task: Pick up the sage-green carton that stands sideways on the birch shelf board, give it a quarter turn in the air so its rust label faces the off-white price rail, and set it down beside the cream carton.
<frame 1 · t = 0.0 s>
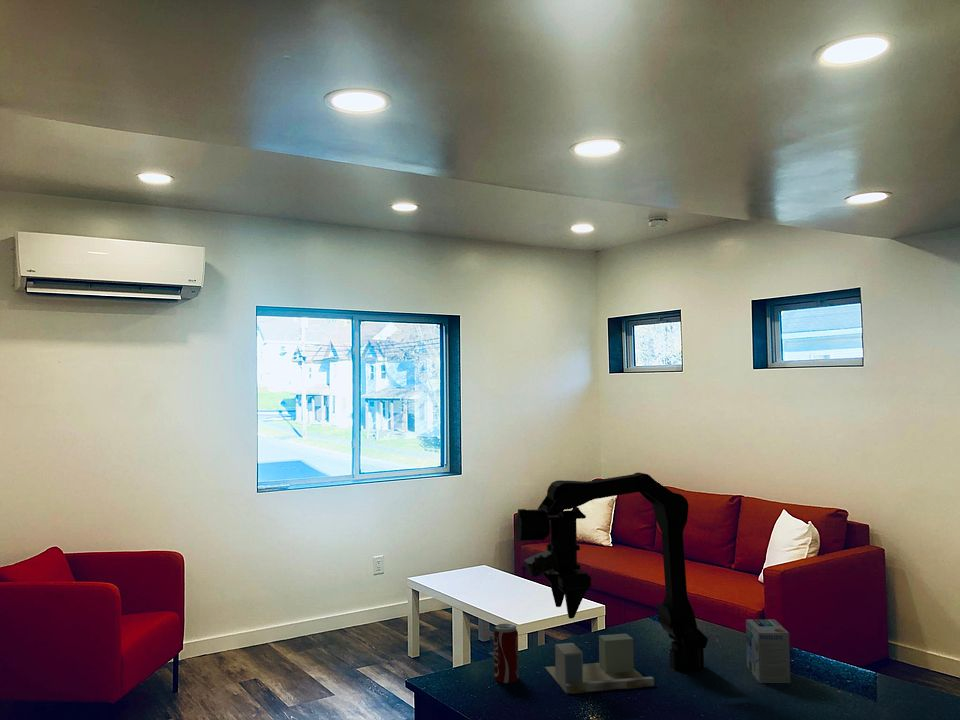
hand: (564, 612, 165), 15 cm above the table, tool pointing down, fingers open, 9 cm apart
soda can: (506, 684, 164), on the table
light bulb box: (768, 676, 167), on the table
shelf: (597, 680, 165), on the table
sage carton: (616, 669, 169), point 1 cm above the table, touching shelf
cream carton: (569, 681, 161), point 1 cm above the table, touching shelf
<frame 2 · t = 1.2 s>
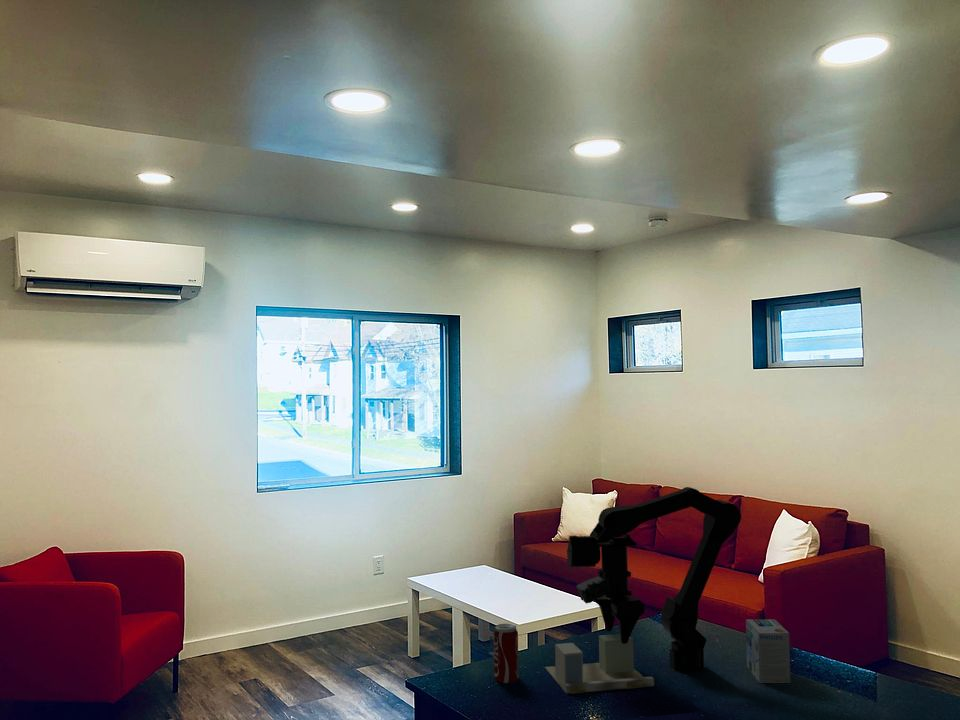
hand: (616, 637, 169), 8 cm above the table, tool pointing down, fingers open, 9 cm apart
nothing on the table moved.
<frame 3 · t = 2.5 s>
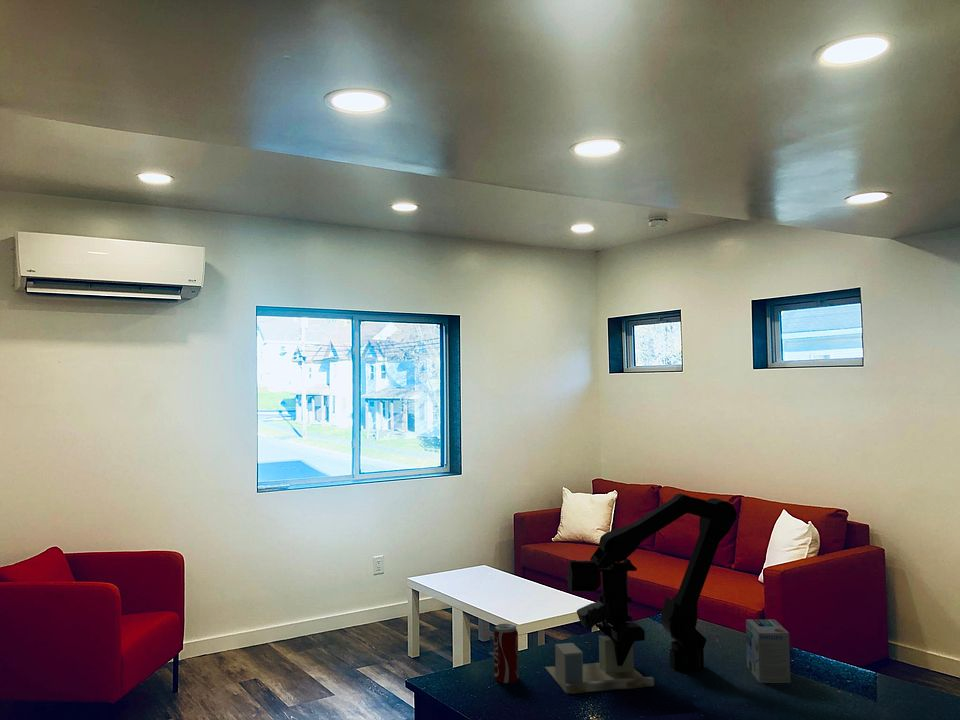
hand: (616, 662, 169), 3 cm above the table, tool pointing down, fingers closed on sage carton, 4 cm apart
sage carton: (616, 669, 169), point 1 cm above the table, touching gripper, shelf
everything else where it was.
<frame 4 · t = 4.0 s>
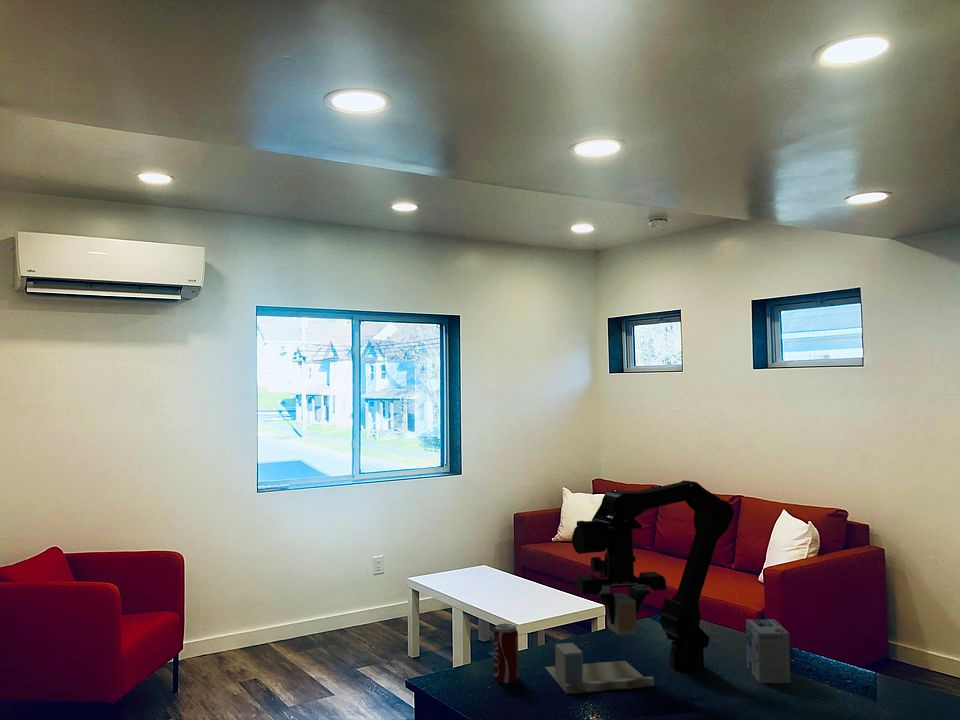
hand: (621, 623, 164), 12 cm above the table, tool pointing down, fingers closed on sage carton, 4 cm apart
sage carton: (621, 630, 164), point 11 cm above the table, touching gripper
everything else where it was.
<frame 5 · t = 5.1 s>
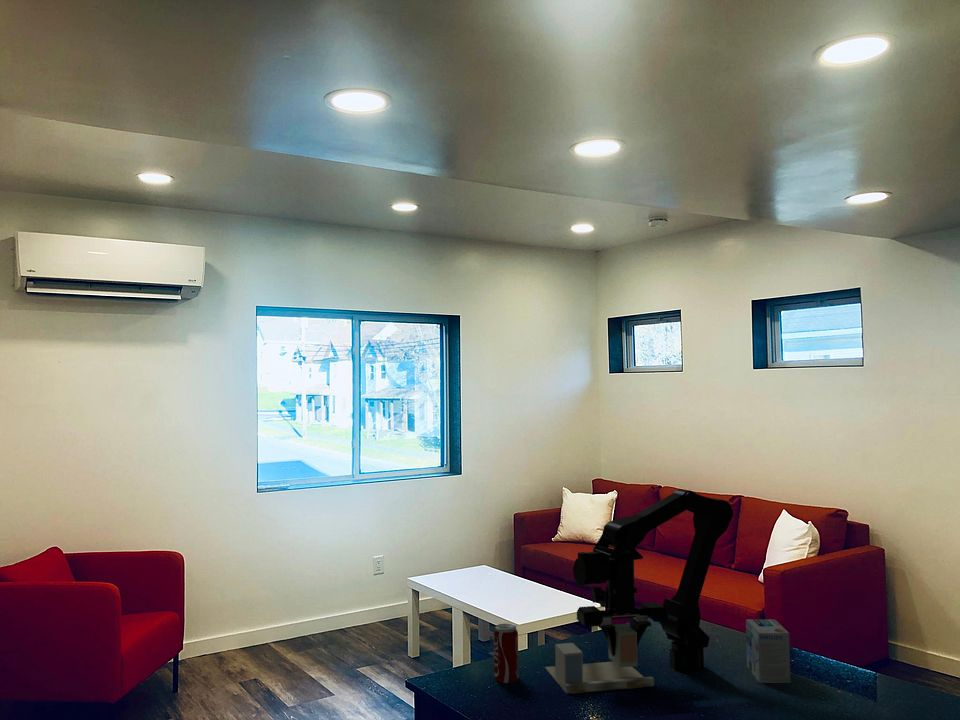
hand: (622, 654, 164), 6 cm above the table, tool pointing down, fingers closed on sage carton, 4 cm apart
sage carton: (622, 661, 164), point 4 cm above the table, touching gripper
everything else where it was.
when the fingers open (4 cm above the table, at t = 5.9 s): sage carton drops 1 cm, resting on shelf.
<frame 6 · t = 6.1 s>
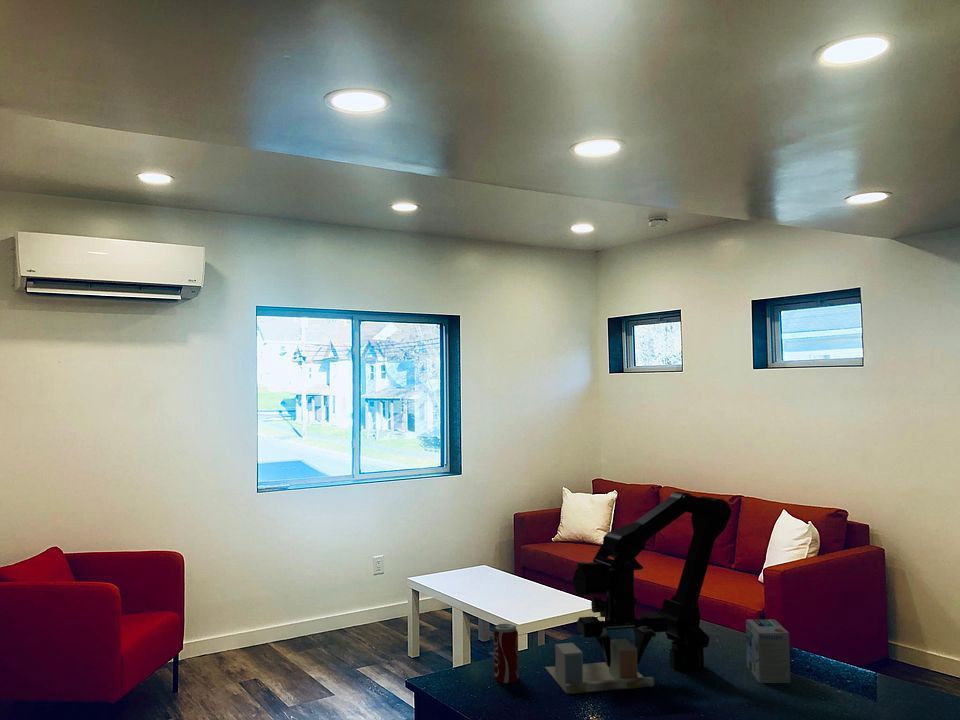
hand: (622, 665, 164), 4 cm above the table, tool pointing down, fingers open, 6 cm apart
sage carton: (622, 677, 164), point 1 cm above the table, touching shelf
everything else where it was.
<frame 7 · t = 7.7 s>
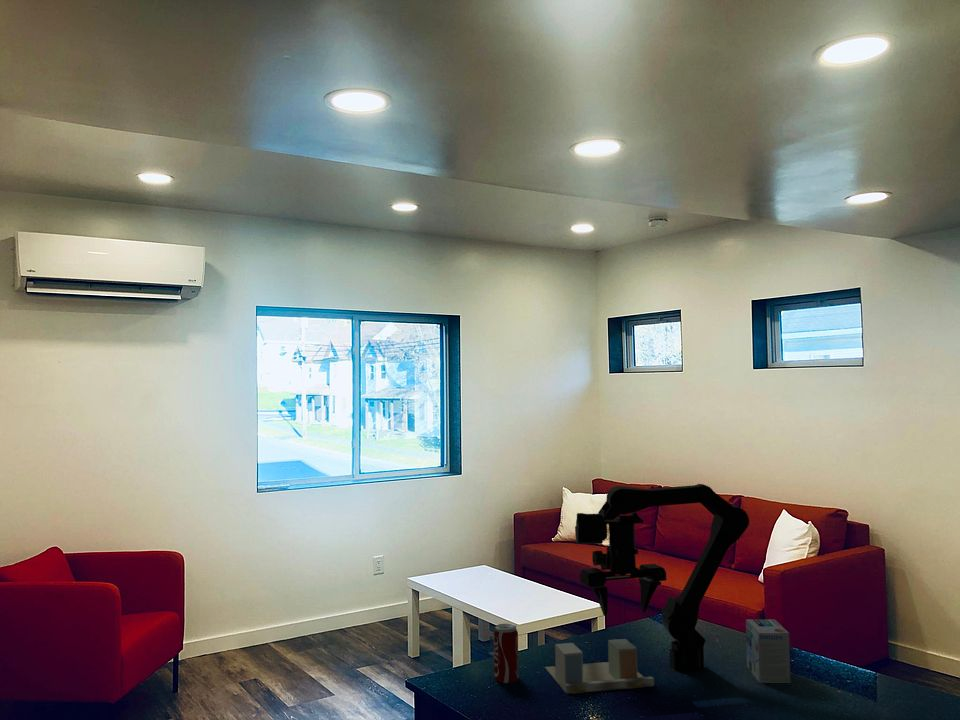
hand: (624, 613, 170), 13 cm above the table, tool pointing down, fingers open, 9 cm apart
nothing on the table moved.
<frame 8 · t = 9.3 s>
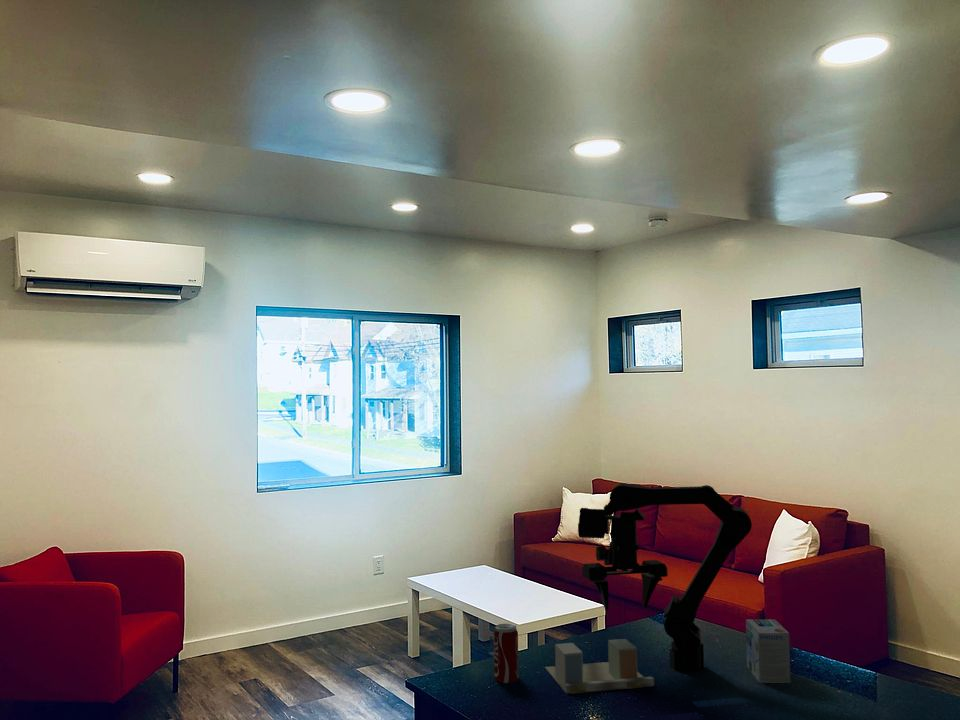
hand: (625, 608, 174), 13 cm above the table, tool pointing down, fingers open, 9 cm apart
nothing on the table moved.
at the end: sage carton inside the target area (0.8 cm from its centre), point 1.0 cm above the table; sage carton tilted 0°; the gripper is holding nothing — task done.
